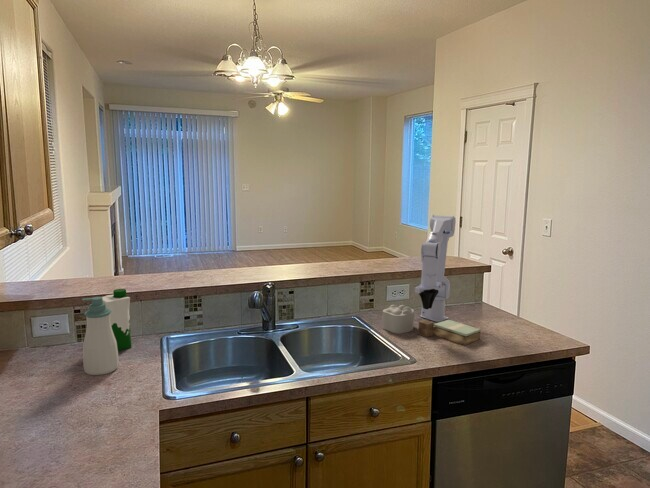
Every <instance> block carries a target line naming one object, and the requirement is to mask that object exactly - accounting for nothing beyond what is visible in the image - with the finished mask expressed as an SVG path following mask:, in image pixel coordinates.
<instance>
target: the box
mask: <svg viewBox="0 0 650 488" xmlns="http://www.w3.org/2000/svg"><path fill="white" fill-rule="evenodd" d="M433 335H434V336H435V337H439V338H442V339H445V340H448V341H451V342H454V343H457V344H460V345H463V346H468V345H469V344H471V343H474V342H476V341H478V340H480V338H481V331H480V332H477V333H474V334H471V335H469V336H463V335H460V334H457V333H454V332H450V331H447V330H444V329H441V328H438V327H435V326H434V327H433ZM433 335H432V336H433Z"/></svg>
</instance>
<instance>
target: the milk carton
mask: <svg viewBox="0 0 650 488" xmlns="http://www.w3.org/2000/svg"><path fill="white" fill-rule="evenodd" d="M112 293H113V294H108V295H105V296H101V297H102V298H103V303H105V304H106V308H108V309H110V310H111V313H110V322H111V327H112V330H113V333H114V336H115V339H116V342H117V348H118V352H119V351H123V350H127V349H131V348H132V335H131V333H132V332H131V320H130V319H131V317H130V306H131V303H130V302H131V297H130V296H128V295H127V289H126V288H125V289H124V288H117V289H114V290H113V291H112Z"/></svg>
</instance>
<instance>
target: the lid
mask: <svg viewBox="0 0 650 488" xmlns="http://www.w3.org/2000/svg"><path fill="white" fill-rule="evenodd" d="M434 327H438V328H441V329H444V330H447V331H450V332H454V333H457V334H460V335H463V336H469V335H471V334H474V333H477V332H480V333H481V328H477V327H474V326H471V325H469V324H465V323H461V322H458V321H456V320H452V319H446V320H443V321H440V322H436V323H435V322H434Z"/></svg>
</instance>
